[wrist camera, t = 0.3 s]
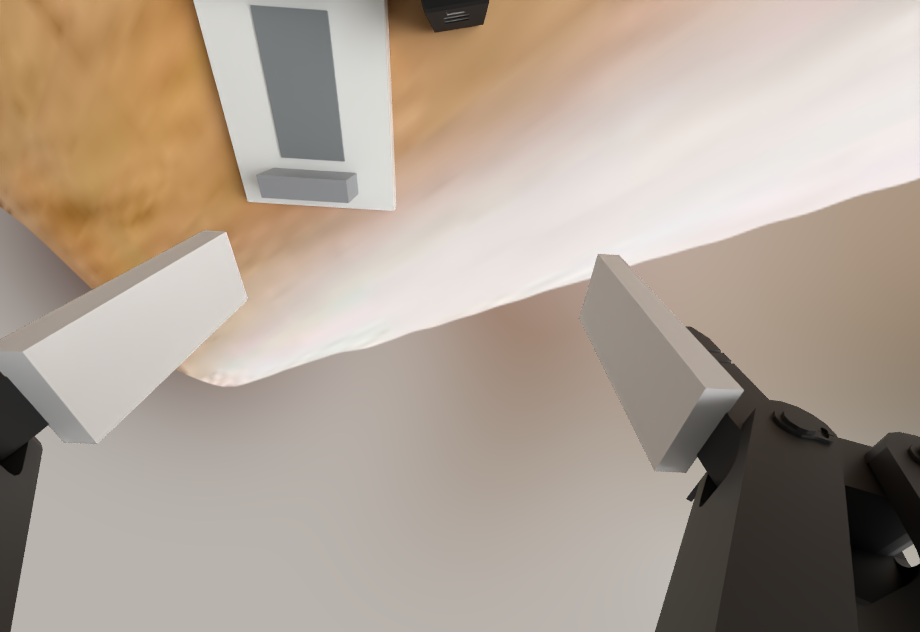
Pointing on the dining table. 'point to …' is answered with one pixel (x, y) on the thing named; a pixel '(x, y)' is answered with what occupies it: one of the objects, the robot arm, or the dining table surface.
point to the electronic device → (455, 13)
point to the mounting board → (306, 98)
